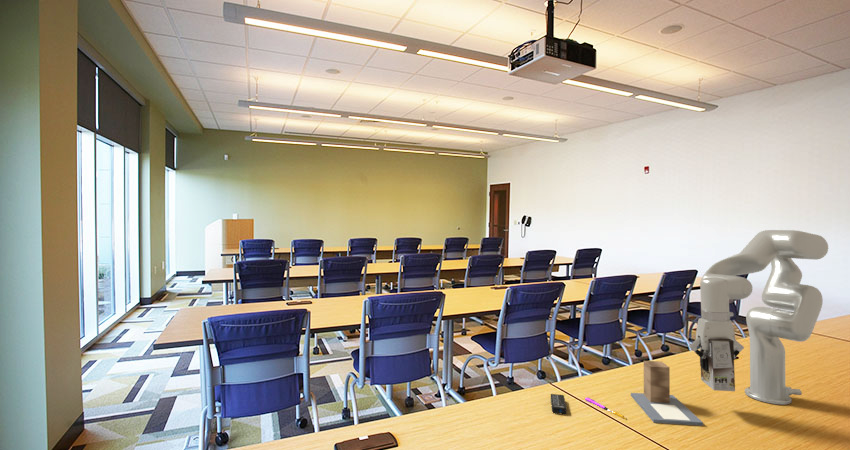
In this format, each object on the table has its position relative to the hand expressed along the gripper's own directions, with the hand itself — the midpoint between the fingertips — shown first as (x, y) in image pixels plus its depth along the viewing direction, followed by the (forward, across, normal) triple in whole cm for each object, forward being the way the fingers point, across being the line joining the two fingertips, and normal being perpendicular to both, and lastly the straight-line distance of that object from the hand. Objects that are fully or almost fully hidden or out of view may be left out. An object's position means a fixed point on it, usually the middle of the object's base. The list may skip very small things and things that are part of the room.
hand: (716, 369), depth 133 cm
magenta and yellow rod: (+13, +36, +4) cm, 38 cm away
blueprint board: (+13, +17, +2) cm, 22 cm away
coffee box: (+5, 0, 0) cm, 5 cm away
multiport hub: (+12, +52, +4) cm, 53 cm away
